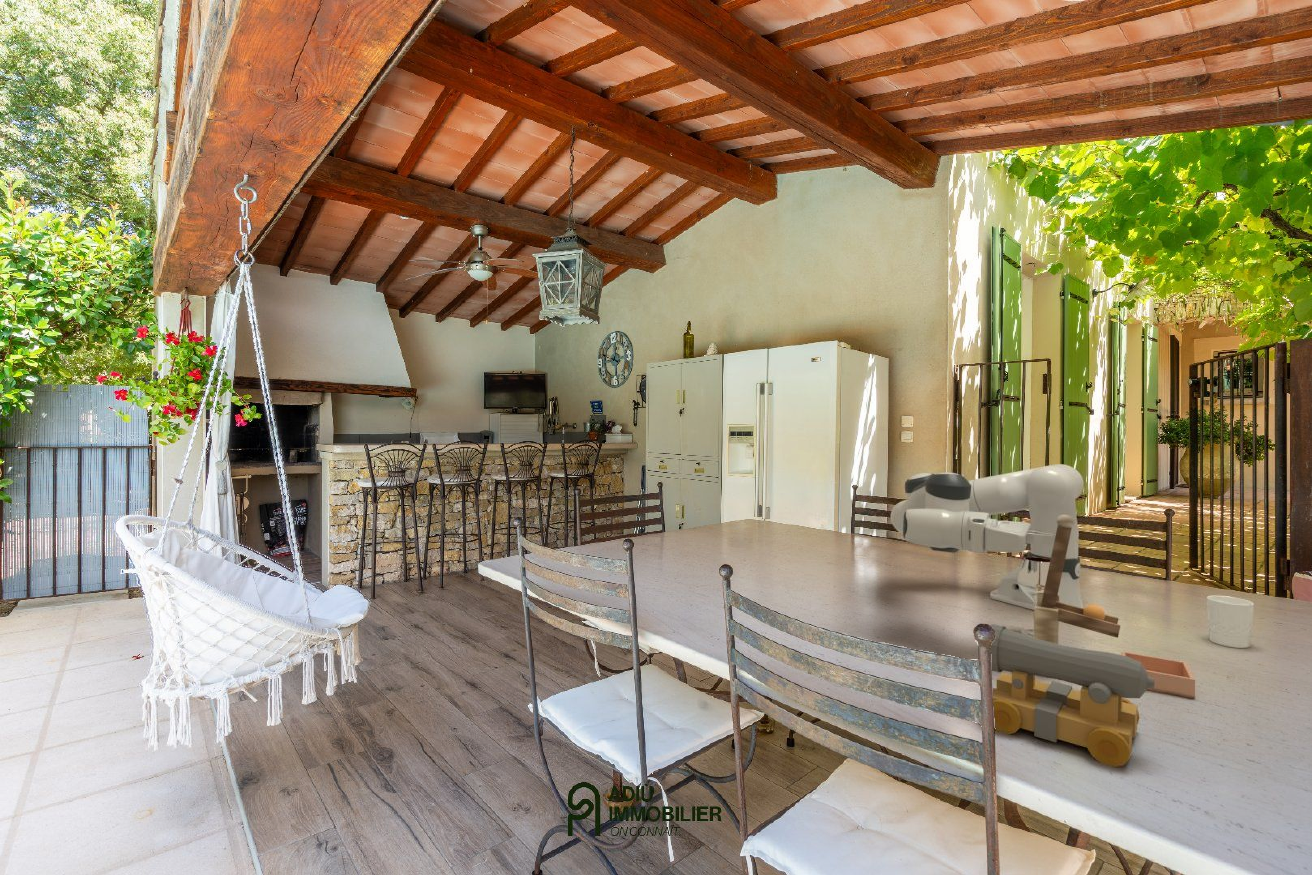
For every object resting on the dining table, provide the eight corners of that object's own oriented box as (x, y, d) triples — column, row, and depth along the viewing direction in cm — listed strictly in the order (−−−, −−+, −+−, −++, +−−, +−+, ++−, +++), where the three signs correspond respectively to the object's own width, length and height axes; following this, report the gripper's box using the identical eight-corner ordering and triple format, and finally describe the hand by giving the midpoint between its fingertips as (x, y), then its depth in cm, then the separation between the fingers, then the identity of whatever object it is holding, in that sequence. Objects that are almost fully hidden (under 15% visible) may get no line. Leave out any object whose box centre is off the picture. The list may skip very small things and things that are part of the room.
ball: (1087, 601, 124) (1108, 608, 122) (1085, 602, 127) (1106, 609, 125) (1081, 618, 123) (1103, 626, 121) (1079, 618, 126) (1100, 626, 124)
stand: (1018, 670, 124) (1019, 606, 124) (1023, 645, 138) (1024, 588, 138) (1072, 680, 119) (1073, 614, 119) (1071, 654, 133) (1073, 594, 133)
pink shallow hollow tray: (1124, 685, 117) (1124, 667, 117) (1120, 668, 126) (1121, 651, 126) (1194, 698, 112) (1195, 679, 112) (1185, 679, 120) (1186, 662, 120)
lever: (1036, 619, 125) (1058, 516, 122) (1038, 605, 134) (1058, 510, 132) (1118, 642, 117) (1142, 533, 115) (1114, 626, 127) (1137, 525, 125)
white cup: (1262, 650, 136) (1263, 606, 136) (1220, 647, 138) (1222, 603, 138) (1236, 638, 144) (1237, 596, 144) (1197, 636, 146) (1198, 594, 145)
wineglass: (1054, 632, 147) (1055, 557, 147) (1060, 643, 140) (1061, 564, 140) (1014, 627, 151) (1016, 554, 150) (1018, 637, 143) (1020, 561, 143)
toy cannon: (1148, 779, 86) (1150, 673, 86) (975, 726, 101) (977, 635, 101) (1156, 736, 98) (1158, 643, 98) (1001, 694, 113) (1002, 613, 113)
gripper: (984, 539, 144) (1055, 546, 136) (972, 554, 127) (1052, 563, 119) (985, 512, 144) (1055, 518, 136) (973, 523, 127) (1052, 530, 119)
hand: (1054, 539), depth 127 cm, fingers closed, pressing on lever
